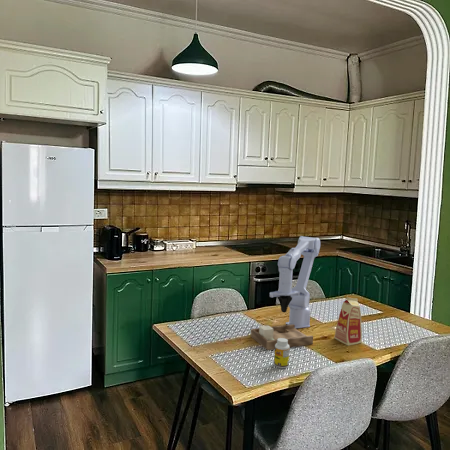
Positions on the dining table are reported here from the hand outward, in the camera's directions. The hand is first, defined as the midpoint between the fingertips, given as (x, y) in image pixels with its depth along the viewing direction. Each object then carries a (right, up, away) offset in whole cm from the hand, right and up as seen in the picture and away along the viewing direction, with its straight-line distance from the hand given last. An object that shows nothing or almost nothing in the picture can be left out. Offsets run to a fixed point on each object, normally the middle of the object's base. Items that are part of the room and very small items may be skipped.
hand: (283, 311), depth 199 cm
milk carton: (+28, -12, -4) cm, 31 cm away
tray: (-2, -11, -7) cm, 13 cm away
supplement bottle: (-5, -14, -33) cm, 36 cm away
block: (-9, -9, -10) cm, 16 cm away
